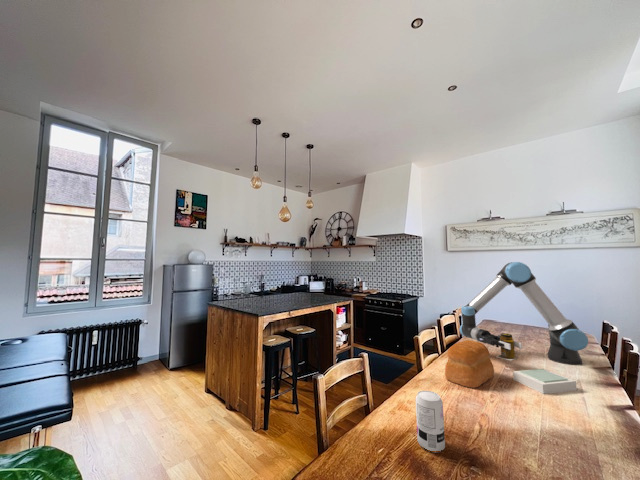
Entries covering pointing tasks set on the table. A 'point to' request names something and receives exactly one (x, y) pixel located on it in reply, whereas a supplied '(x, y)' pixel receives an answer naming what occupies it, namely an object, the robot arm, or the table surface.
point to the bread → (469, 364)
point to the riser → (544, 381)
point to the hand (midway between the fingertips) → (515, 346)
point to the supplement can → (430, 421)
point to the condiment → (505, 352)
